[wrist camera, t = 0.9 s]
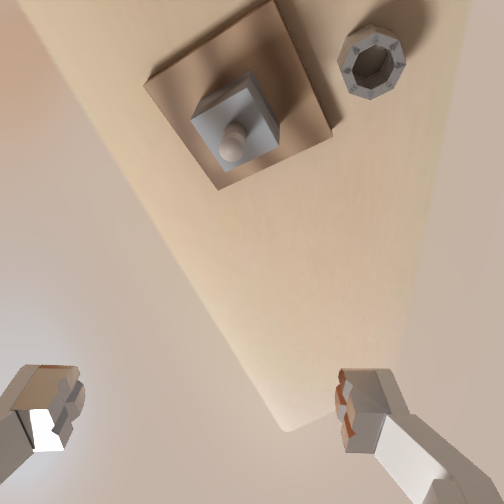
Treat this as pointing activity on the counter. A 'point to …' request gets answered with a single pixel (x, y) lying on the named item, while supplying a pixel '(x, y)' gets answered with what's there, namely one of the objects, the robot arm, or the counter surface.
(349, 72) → the collar
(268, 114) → the post stand
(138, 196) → the counter surface
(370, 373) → the robot arm
